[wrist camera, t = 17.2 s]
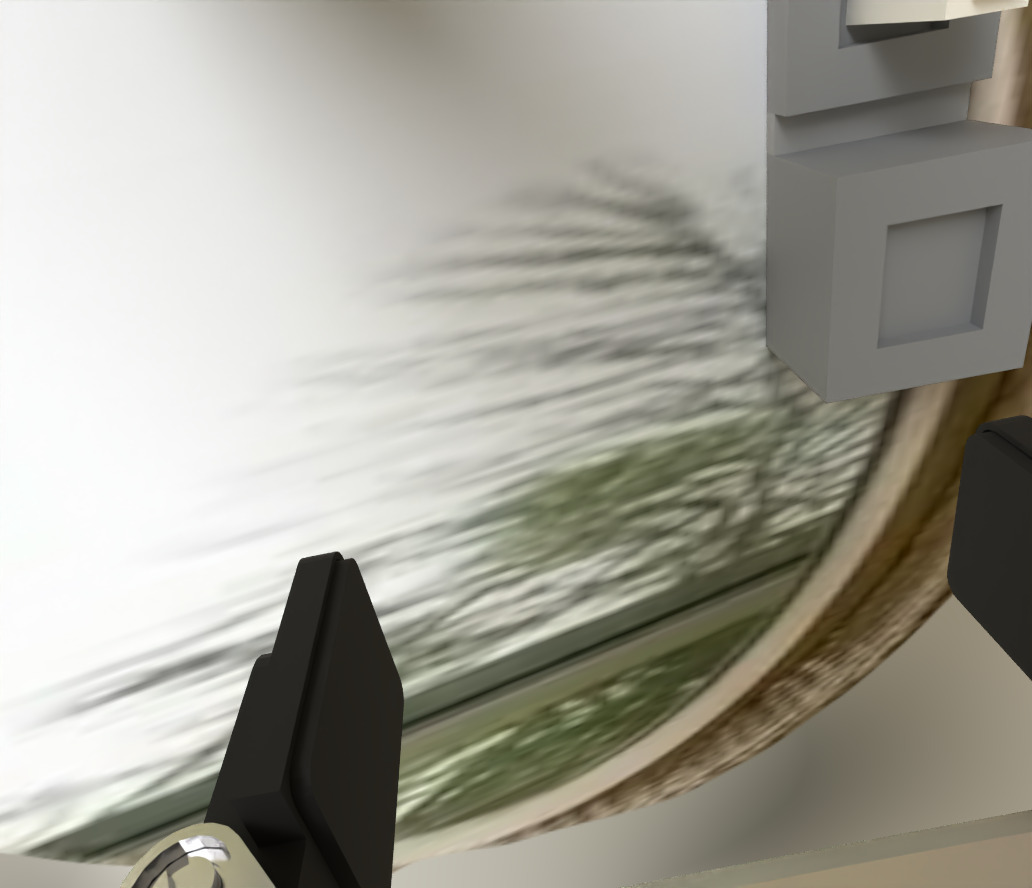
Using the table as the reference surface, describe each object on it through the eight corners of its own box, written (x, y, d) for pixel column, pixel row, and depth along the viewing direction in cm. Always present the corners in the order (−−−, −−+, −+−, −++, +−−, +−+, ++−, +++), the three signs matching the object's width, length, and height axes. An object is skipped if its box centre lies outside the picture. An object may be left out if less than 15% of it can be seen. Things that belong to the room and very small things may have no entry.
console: (767, -158, 32) (856, -215, 25) (993, -202, 32) (1146, -272, 25) (766, 345, 44) (826, 403, 37) (931, 315, 43) (1022, 367, 36)
